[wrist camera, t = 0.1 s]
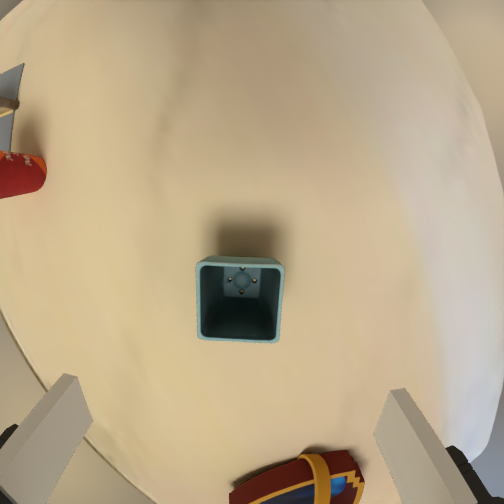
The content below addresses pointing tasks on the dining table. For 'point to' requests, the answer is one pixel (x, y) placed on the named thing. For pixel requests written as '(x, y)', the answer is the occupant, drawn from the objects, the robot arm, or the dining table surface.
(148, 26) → the dining table surface
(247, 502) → the decorative basket
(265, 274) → the flower pot
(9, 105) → the fixed fence panel and posts
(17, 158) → the paper cup
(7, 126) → the board
